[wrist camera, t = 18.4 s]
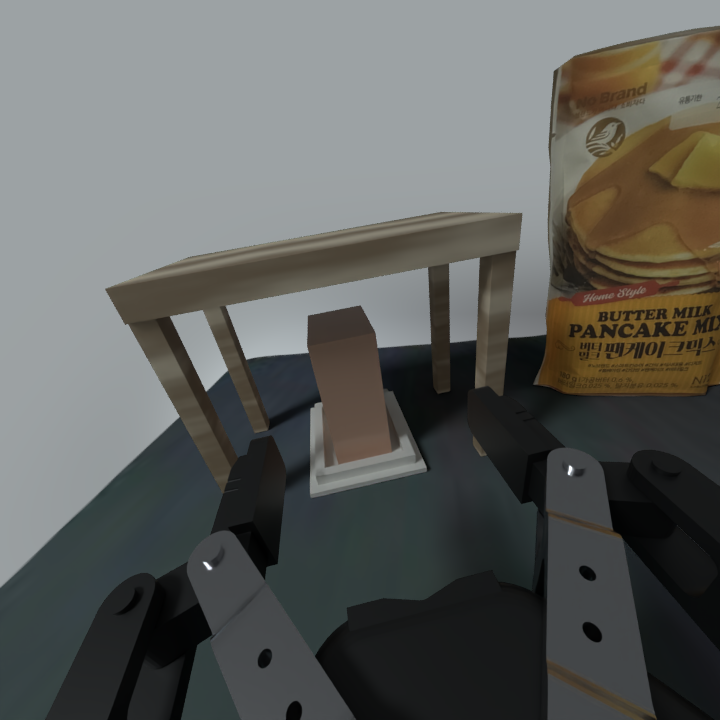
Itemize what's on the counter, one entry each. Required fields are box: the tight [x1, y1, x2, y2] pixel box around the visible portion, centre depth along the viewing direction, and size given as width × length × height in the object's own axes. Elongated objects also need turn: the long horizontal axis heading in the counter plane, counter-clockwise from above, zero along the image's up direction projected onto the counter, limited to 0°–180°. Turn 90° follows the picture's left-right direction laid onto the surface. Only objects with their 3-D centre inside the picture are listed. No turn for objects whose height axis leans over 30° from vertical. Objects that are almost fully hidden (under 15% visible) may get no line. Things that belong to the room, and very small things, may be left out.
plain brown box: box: [307, 306, 392, 465], centre depth 27 cm, size 7×5×12 cm
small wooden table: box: [106, 212, 522, 493], centre depth 26 cm, size 12×23×19 cm, turn 98°
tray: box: [310, 389, 427, 498], centre depth 30 cm, size 12×10×2 cm
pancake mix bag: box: [533, 26, 720, 396], centre depth 25 cm, size 7×19×28 cm, turn 77°
